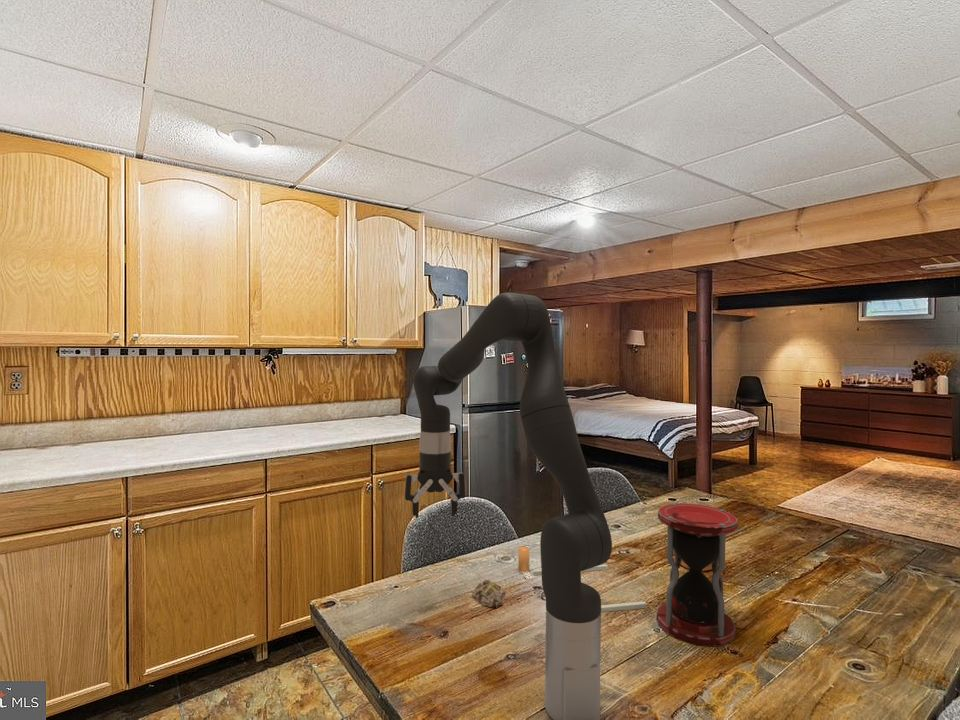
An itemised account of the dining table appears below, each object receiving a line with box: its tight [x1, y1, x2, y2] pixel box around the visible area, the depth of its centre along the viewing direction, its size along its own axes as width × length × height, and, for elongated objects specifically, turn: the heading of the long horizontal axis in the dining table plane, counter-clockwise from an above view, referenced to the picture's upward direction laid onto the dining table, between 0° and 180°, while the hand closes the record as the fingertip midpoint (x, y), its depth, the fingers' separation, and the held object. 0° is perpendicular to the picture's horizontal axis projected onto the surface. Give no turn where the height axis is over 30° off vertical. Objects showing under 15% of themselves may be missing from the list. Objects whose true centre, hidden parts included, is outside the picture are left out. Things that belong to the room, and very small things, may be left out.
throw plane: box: [517, 546, 647, 614], centre depth 130 cm, size 30×24×6 cm
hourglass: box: [655, 502, 738, 647], centre depth 113 cm, size 16×16×25 cm
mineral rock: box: [471, 579, 506, 609], centre depth 126 cm, size 11×4×8 cm
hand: (434, 516), depth 123 cm, fingers open, 8 cm apart
